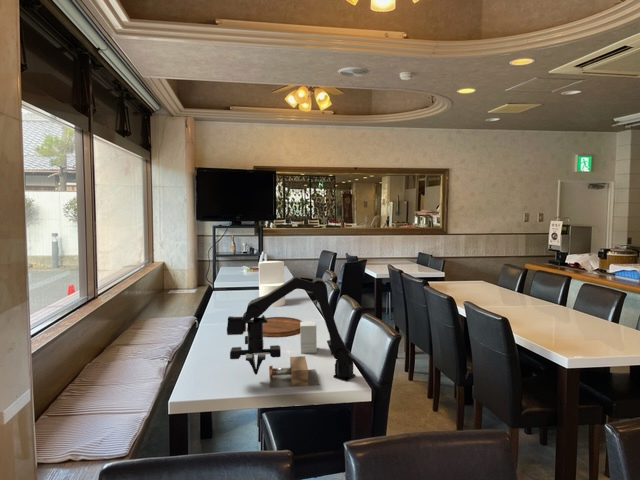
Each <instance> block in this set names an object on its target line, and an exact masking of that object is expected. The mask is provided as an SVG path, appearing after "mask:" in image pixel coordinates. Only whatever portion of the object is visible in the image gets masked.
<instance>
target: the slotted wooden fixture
mask: <svg viewBox="0 0 640 480" xmlns="http://www.w3.org/2000/svg"><path fill="white" fill-rule="evenodd" d="M289 368H291V375H274V376H273V378H269V388H270V389H271V388H286V387H287V388H289V387H291V388H292V387H307V386H319V385H320V382H319V379H318V375H317V372H316V368H315V369H309V368H308V363H307V359H306V356H305V355H303V356H302V355H301V356H290V357H289Z"/></svg>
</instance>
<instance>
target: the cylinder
mask: <svg viewBox="0 0 640 480" xmlns="http://www.w3.org/2000/svg"><path fill="white" fill-rule="evenodd" d="M284 283H285V262H284V261H283V260H282V261H281V260H266V261H264V260H263V261H260V262H258V296H259V297H262V296H265V295H267V294H269V293H270V292H272V291H273V290H275V289H276V288H278V287H280V286H281V285H283V284H284ZM259 297H258V298H259ZM285 305H286V296H284V297H282V298H281V299H279V300H278V301H276V302H275V303H273V304H272V305H271V306H270V307H269V308H276V307H283V306H285Z"/></svg>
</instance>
